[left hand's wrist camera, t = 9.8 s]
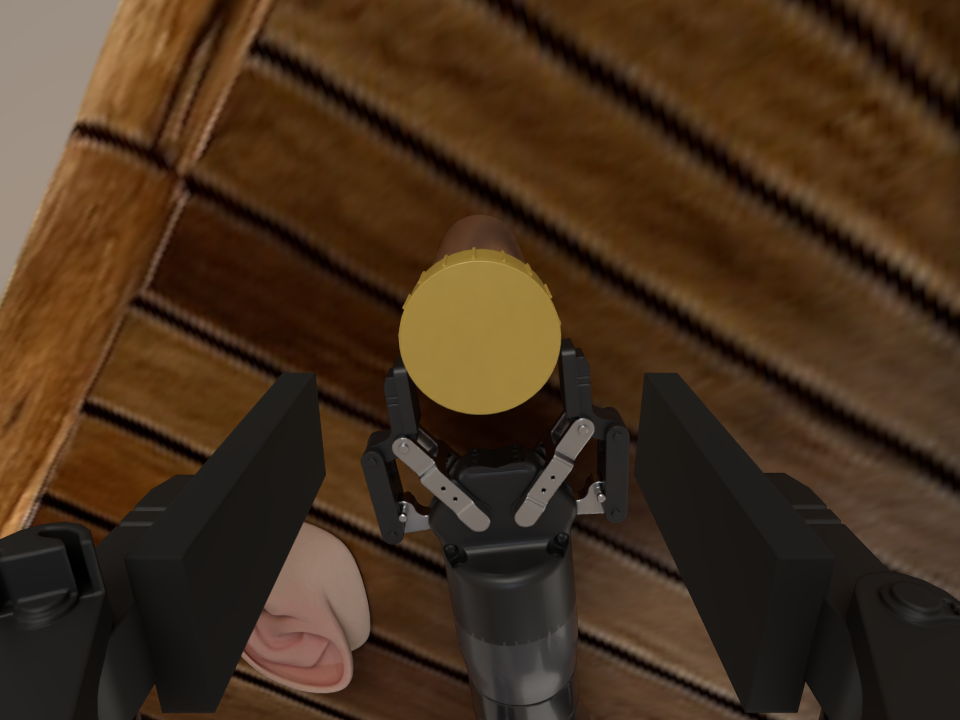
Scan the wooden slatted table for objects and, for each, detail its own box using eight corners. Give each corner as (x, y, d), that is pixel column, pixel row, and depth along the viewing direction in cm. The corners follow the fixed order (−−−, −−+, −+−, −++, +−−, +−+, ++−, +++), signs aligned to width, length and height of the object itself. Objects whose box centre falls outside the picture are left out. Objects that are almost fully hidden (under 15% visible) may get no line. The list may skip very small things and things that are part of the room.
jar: (456, 306, 37) (440, 419, 22) (426, 231, 35) (387, 296, 20) (531, 279, 36) (568, 376, 21) (504, 202, 34) (523, 246, 19)
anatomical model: (174, 545, 38) (354, 549, 38) (202, 509, 41) (365, 513, 42) (202, 699, 42) (362, 702, 42) (225, 654, 46) (372, 657, 46)
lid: (437, 410, 24) (433, 437, 21) (380, 278, 22) (369, 293, 20) (573, 363, 23) (582, 387, 21) (526, 224, 21) (531, 233, 19)
